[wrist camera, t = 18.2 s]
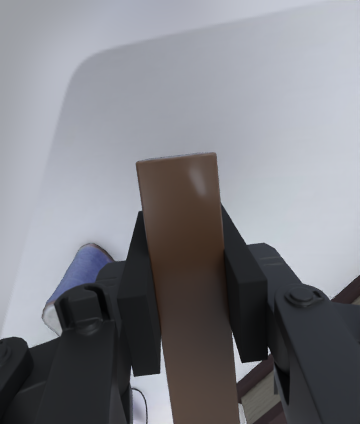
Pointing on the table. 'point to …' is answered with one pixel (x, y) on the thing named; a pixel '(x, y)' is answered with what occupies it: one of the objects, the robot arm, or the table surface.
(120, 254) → the table surface
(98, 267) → the flask
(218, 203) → the knife
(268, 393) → the book
